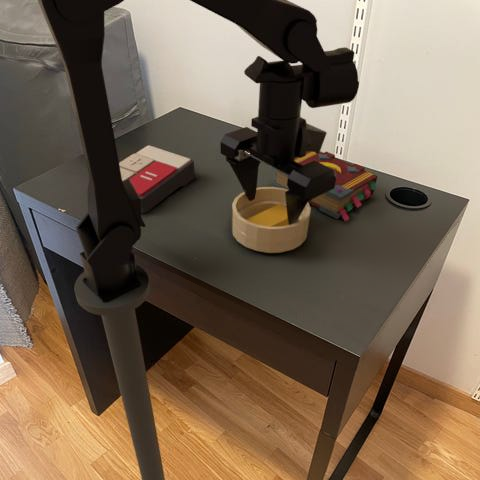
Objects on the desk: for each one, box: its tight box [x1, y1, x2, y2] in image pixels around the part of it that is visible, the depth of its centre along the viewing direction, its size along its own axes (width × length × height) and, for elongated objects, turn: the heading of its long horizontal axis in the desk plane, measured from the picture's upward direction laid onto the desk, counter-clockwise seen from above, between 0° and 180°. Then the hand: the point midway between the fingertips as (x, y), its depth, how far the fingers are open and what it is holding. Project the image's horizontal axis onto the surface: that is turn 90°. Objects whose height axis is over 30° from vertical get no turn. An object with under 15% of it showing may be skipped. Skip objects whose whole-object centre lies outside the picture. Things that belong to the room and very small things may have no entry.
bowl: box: [231, 186, 312, 254], centre depth 77 cm, size 12×12×5 cm
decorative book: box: [271, 150, 378, 222], centre depth 86 cm, size 11×16×5 cm
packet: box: [246, 204, 289, 227], centre depth 77 cm, size 8×4×2 cm, turn 131°
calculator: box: [119, 144, 196, 214], centre depth 87 cm, size 11×4×15 cm
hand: (271, 212), depth 76 cm, fingers open, 9 cm apart
